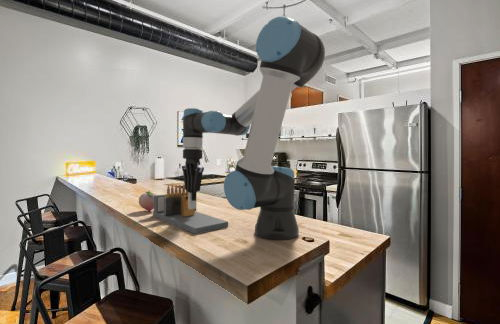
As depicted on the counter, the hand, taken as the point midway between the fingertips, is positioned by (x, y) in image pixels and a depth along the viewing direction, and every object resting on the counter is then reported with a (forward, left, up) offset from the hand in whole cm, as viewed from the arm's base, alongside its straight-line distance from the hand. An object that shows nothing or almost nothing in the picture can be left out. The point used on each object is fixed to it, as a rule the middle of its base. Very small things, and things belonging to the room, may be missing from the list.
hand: (192, 208), depth 103 cm
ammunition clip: (+12, 0, -4) cm, 12 cm away
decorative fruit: (+31, +5, -6) cm, 32 cm away
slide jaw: (+6, 0, -3) cm, 7 cm away
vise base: (+3, 0, -6) cm, 7 cm away
